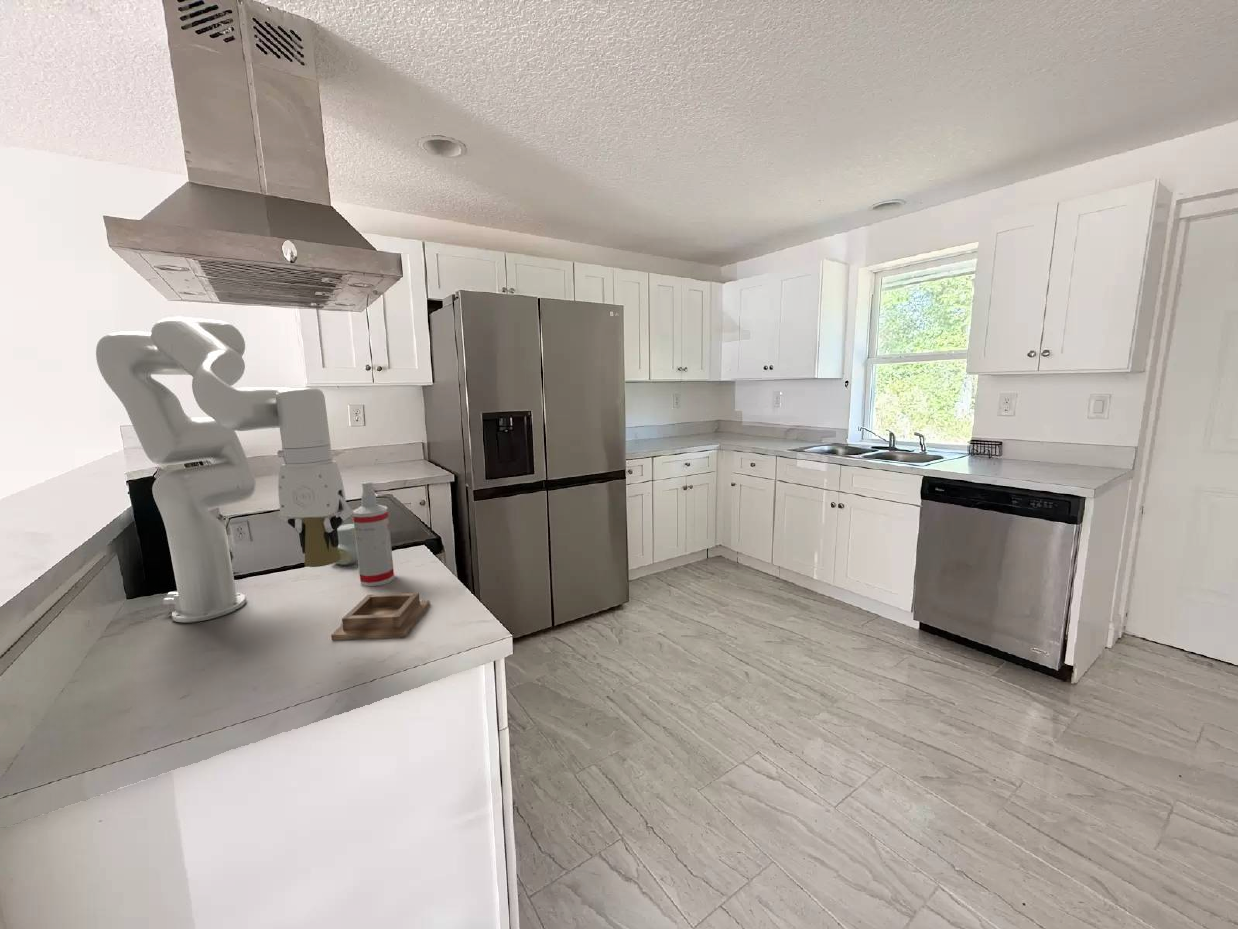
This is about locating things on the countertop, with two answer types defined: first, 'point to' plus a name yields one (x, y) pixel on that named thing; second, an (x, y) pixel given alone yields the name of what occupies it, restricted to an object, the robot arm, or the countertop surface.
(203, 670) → the countertop surface
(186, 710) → the countertop surface
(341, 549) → the pale green rounded piece
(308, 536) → the cork
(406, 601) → the walnut holder
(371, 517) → the white squeeze bottle
